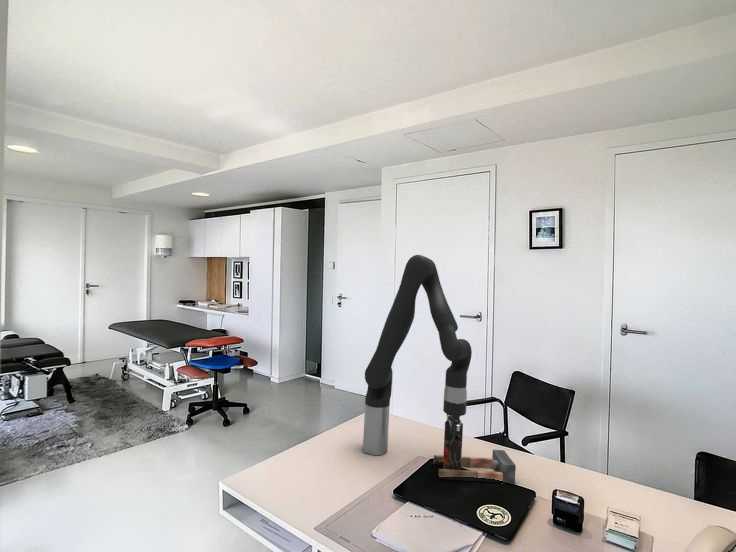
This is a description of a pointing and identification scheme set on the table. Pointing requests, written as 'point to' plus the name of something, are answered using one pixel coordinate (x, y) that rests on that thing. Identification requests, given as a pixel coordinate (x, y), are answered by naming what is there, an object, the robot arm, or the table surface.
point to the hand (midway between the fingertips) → (452, 448)
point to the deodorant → (449, 458)
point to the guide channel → (498, 462)
